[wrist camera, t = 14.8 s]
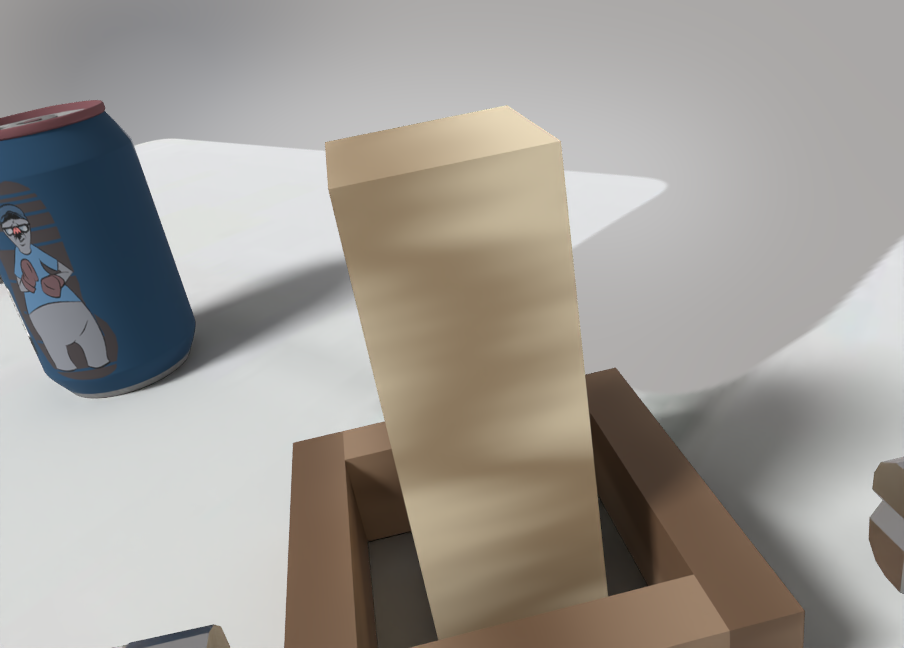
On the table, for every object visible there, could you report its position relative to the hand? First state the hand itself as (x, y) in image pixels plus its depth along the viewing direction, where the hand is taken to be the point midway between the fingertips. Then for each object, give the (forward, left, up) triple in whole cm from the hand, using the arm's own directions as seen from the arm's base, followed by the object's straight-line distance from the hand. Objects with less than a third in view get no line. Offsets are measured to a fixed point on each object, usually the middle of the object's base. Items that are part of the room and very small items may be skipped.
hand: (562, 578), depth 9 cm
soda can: (+14, -28, -8) cm, 32 cm away
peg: (0, -8, -8) cm, 11 cm away
